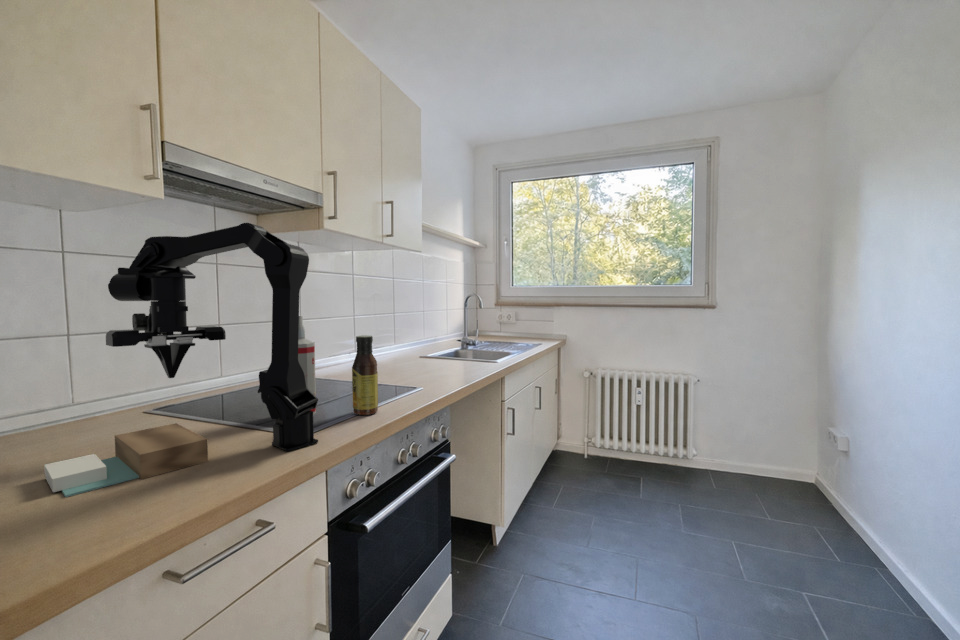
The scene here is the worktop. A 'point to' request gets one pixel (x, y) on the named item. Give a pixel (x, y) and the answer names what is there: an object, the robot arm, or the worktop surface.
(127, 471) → the mat
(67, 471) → the white block
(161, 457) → the brown box
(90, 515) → the worktop surface
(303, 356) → the spray bottle
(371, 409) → the sauce bottle
